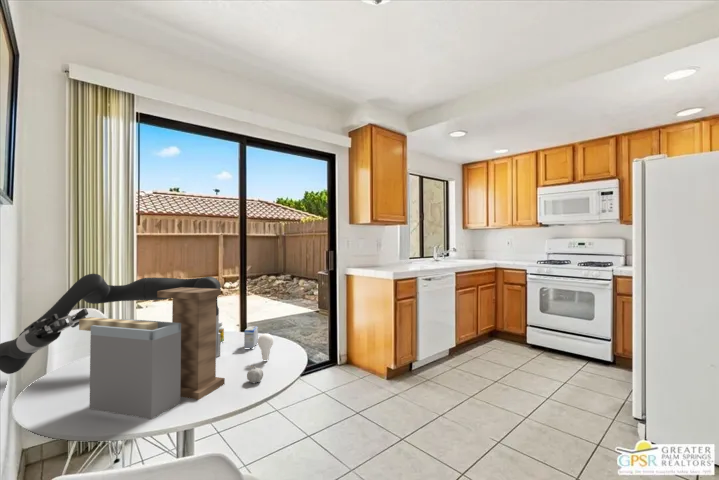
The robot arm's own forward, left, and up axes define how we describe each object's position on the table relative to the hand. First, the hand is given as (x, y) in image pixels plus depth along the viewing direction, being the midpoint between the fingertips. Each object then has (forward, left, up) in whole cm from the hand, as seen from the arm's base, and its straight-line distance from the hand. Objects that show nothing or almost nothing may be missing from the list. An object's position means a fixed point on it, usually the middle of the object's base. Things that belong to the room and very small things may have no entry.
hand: (71, 313), depth 105 cm
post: (-28, +20, -25) cm, 43 cm away
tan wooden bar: (-9, +16, -4) cm, 19 cm away
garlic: (-46, +30, -26) cm, 61 cm away
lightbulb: (-59, +14, -25) cm, 66 cm away
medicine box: (-64, -8, -26) cm, 69 cm away
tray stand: (-13, +22, -25) cm, 36 cm away
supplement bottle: (-56, -26, -25) cm, 67 cm away
